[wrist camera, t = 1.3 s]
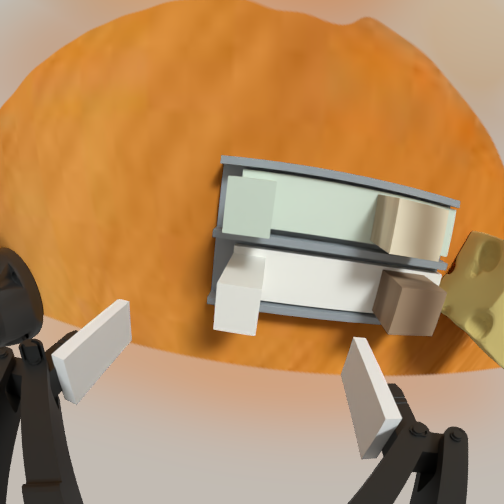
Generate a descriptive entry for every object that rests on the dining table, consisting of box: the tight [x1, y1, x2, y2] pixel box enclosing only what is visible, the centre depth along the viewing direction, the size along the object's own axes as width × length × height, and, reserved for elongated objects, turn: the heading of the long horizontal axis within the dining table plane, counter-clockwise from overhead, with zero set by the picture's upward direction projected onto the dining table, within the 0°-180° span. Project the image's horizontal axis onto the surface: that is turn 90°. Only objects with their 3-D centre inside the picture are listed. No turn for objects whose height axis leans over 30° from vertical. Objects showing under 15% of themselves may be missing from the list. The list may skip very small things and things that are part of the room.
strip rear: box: [213, 243, 442, 336], centre depth 24 cm, size 22×5×9 cm, turn 83°
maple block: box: [370, 194, 449, 262], centre depth 23 cm, size 5×4×5 cm
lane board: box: [207, 155, 460, 325], centre depth 27 cm, size 24×14×3 cm, turn 83°
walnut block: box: [372, 270, 447, 336], centre depth 24 cm, size 5×4×5 cm
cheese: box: [439, 231, 504, 369], centre depth 23 cm, size 10×11×10 cm
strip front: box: [222, 169, 456, 257], centre depth 22 cm, size 22×5×9 cm, turn 83°
